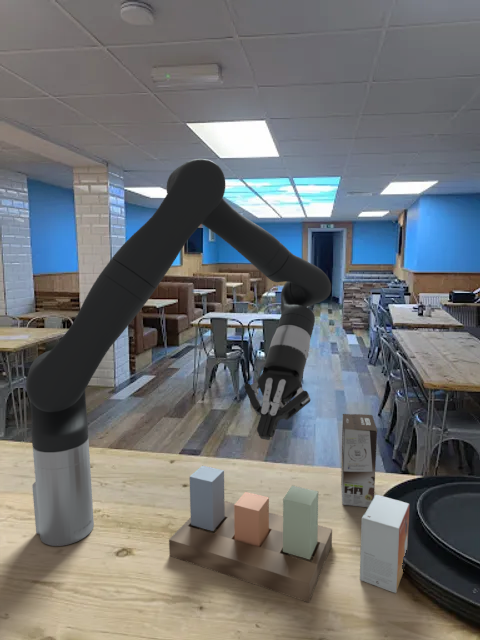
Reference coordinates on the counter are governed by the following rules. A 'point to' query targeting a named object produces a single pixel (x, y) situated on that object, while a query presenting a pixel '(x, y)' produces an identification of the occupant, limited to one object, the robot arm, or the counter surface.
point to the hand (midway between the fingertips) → (264, 437)
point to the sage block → (300, 521)
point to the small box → (384, 542)
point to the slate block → (207, 497)
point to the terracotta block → (251, 519)
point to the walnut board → (252, 555)
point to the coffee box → (358, 459)
